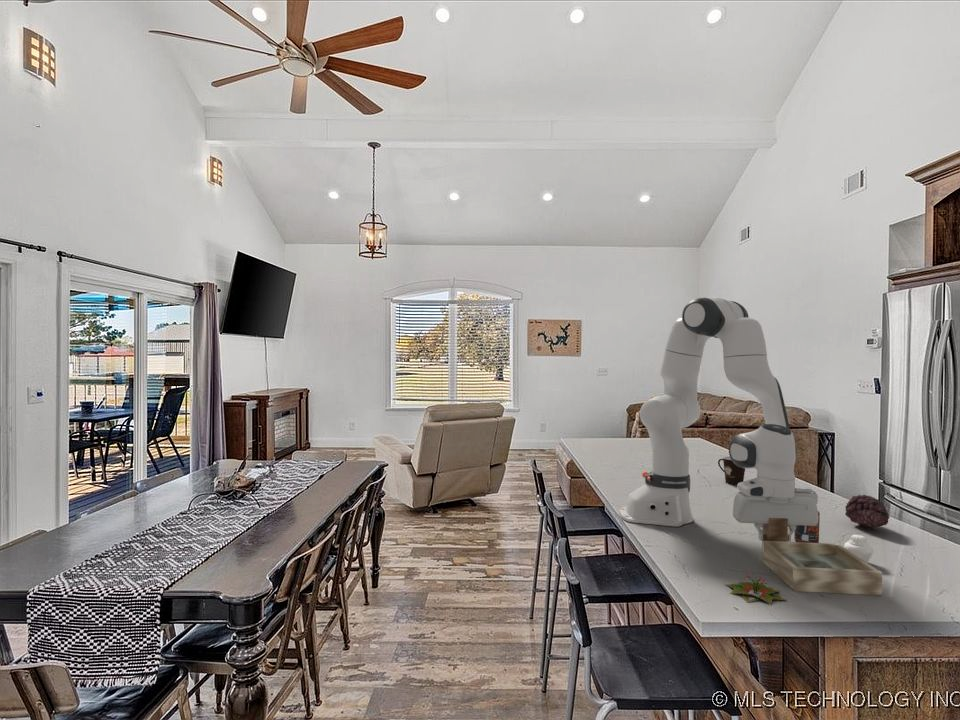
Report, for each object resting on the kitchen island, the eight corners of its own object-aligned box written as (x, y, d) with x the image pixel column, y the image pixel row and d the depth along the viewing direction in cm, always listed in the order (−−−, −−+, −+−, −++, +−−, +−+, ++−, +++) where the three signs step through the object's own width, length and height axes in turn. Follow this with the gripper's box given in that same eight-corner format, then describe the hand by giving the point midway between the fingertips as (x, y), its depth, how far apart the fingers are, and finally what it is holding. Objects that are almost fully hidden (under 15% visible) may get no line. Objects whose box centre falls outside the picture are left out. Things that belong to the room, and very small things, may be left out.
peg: (768, 556, 143) (769, 518, 143) (761, 550, 147) (762, 513, 147) (787, 557, 142) (787, 519, 142) (779, 551, 147) (780, 513, 147)
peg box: (794, 590, 122) (795, 568, 122) (761, 560, 140) (762, 540, 140) (881, 595, 121) (882, 572, 120) (837, 563, 138) (837, 543, 138)
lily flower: (799, 607, 116) (799, 585, 116) (744, 608, 115) (744, 586, 115) (765, 583, 128) (765, 563, 128) (715, 584, 127) (715, 564, 127)
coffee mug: (750, 486, 219) (750, 460, 218) (728, 485, 219) (728, 460, 219) (736, 479, 230) (737, 455, 230) (715, 478, 230) (716, 455, 230)
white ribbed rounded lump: (845, 555, 144) (845, 529, 144) (874, 561, 140) (874, 534, 140) (842, 562, 139) (842, 535, 139) (872, 568, 135) (872, 540, 135)
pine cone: (902, 539, 157) (902, 504, 157) (863, 537, 159) (864, 502, 159) (869, 520, 175) (870, 489, 174) (835, 518, 176) (835, 487, 176)
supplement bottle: (810, 547, 150) (811, 505, 150) (789, 540, 156) (790, 500, 155) (823, 543, 153) (824, 502, 153) (802, 537, 158) (803, 497, 158)
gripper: (811, 486, 147) (810, 538, 147) (731, 483, 149) (730, 534, 149) (823, 492, 140) (822, 546, 140) (739, 489, 142) (738, 542, 143)
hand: (774, 540), depth 145 cm, fingers closed on peg, 4 cm apart
